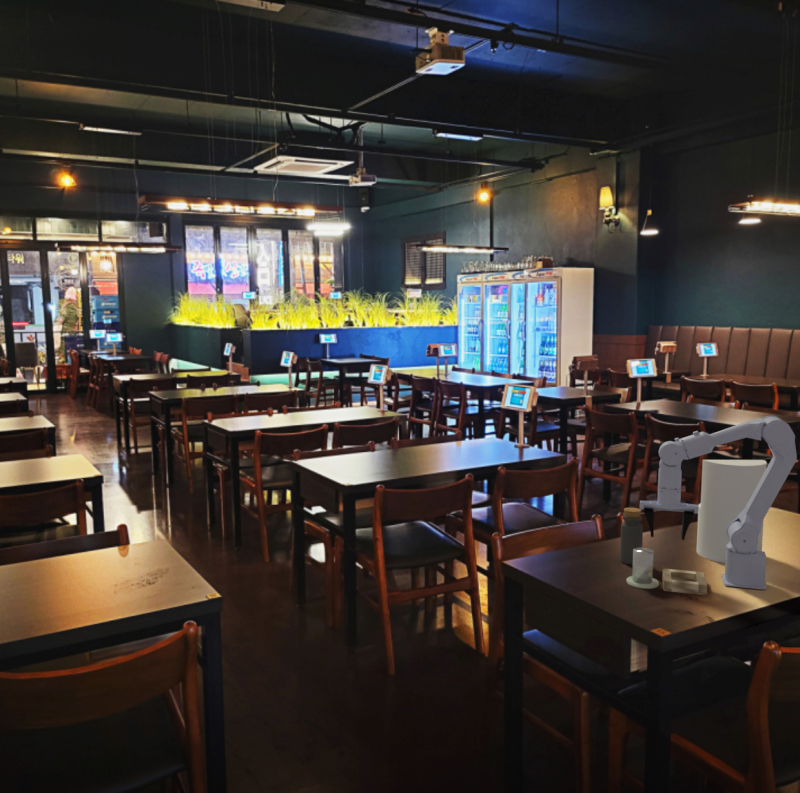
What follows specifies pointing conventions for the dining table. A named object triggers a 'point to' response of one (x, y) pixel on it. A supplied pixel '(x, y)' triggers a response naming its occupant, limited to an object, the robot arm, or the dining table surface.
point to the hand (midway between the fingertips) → (667, 537)
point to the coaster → (644, 586)
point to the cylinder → (724, 502)
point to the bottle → (630, 534)
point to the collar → (684, 581)
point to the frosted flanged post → (642, 565)
